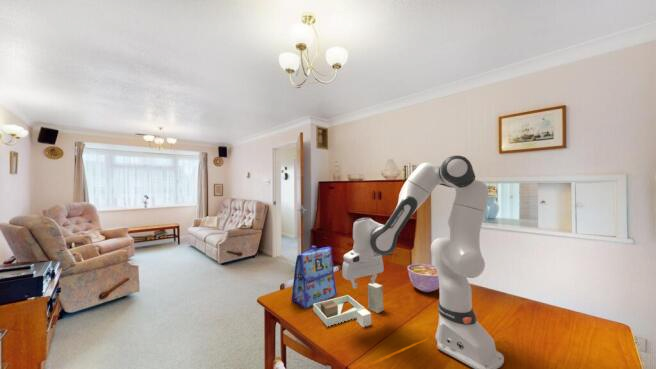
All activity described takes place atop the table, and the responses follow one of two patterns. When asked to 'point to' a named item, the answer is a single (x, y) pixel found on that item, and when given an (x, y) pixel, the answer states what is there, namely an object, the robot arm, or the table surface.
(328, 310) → the walnut block
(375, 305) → the skincare box
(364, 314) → the cream cube
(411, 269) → the bowl of food
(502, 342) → the table surface
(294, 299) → the lunch bag
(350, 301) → the tray
